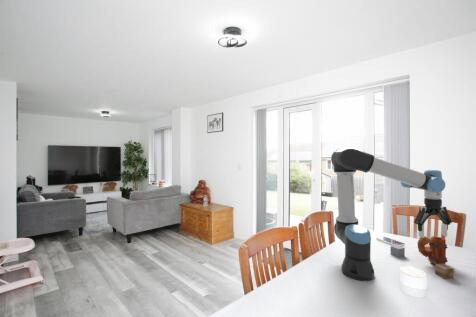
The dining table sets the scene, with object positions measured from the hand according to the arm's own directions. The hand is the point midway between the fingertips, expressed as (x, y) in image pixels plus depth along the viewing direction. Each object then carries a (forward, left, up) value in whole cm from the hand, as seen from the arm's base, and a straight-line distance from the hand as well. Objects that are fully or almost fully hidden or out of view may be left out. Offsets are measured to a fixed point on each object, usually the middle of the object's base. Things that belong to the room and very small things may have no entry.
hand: (432, 236), depth 131 cm
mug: (0, 0, -15) cm, 15 cm away
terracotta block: (+8, +13, -15) cm, 22 cm away
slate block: (-11, +12, -15) cm, 22 cm away
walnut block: (-6, -13, -15) cm, 21 cm away
